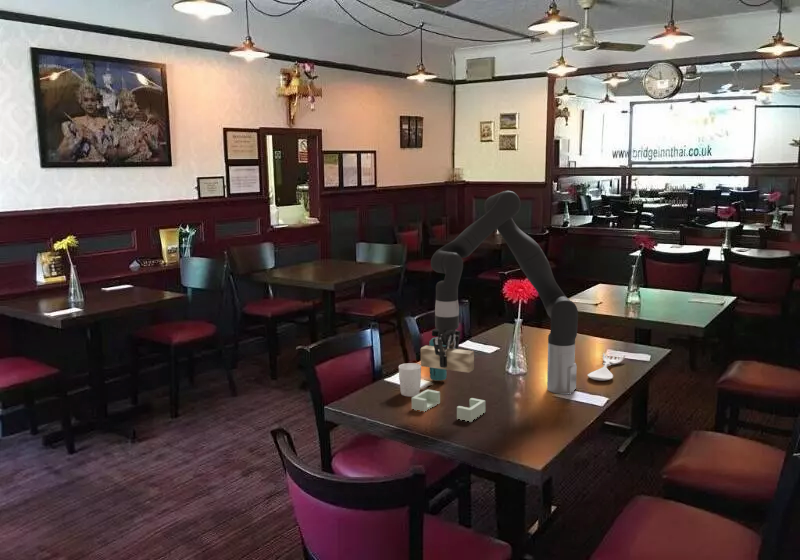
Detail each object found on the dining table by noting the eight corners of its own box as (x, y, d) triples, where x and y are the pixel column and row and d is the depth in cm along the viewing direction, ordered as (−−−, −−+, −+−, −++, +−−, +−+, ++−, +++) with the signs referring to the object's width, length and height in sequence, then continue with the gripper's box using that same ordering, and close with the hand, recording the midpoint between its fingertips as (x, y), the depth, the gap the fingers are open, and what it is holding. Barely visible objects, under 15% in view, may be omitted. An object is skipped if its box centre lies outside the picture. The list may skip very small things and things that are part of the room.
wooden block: (473, 369, 213) (473, 351, 212) (469, 372, 210) (469, 354, 209) (426, 362, 221) (425, 345, 220) (420, 366, 217) (420, 348, 216)
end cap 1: (411, 409, 219) (411, 397, 219) (427, 400, 228) (427, 389, 227) (424, 412, 217) (424, 400, 216) (440, 402, 225) (440, 391, 224)
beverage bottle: (449, 380, 249) (449, 328, 245) (443, 385, 243) (442, 332, 239) (433, 378, 251) (432, 326, 248) (426, 383, 245) (425, 330, 242)
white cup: (414, 398, 230) (413, 370, 228) (394, 395, 234) (394, 367, 232) (425, 392, 236) (425, 364, 235) (406, 388, 240) (406, 361, 239)
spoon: (625, 362, 267) (626, 354, 266) (609, 386, 239) (610, 376, 239) (602, 359, 271) (603, 351, 271) (584, 382, 243) (584, 373, 243)
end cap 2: (485, 412, 215) (485, 400, 215) (470, 422, 207) (470, 410, 207) (471, 409, 218) (471, 397, 217) (456, 419, 210) (456, 407, 209)
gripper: (445, 319, 204) (446, 372, 207) (468, 310, 216) (467, 361, 219) (425, 316, 209) (425, 369, 211) (448, 308, 220) (448, 358, 223)
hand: (447, 364), depth 215 cm, fingers closed on wooden block, 4 cm apart
